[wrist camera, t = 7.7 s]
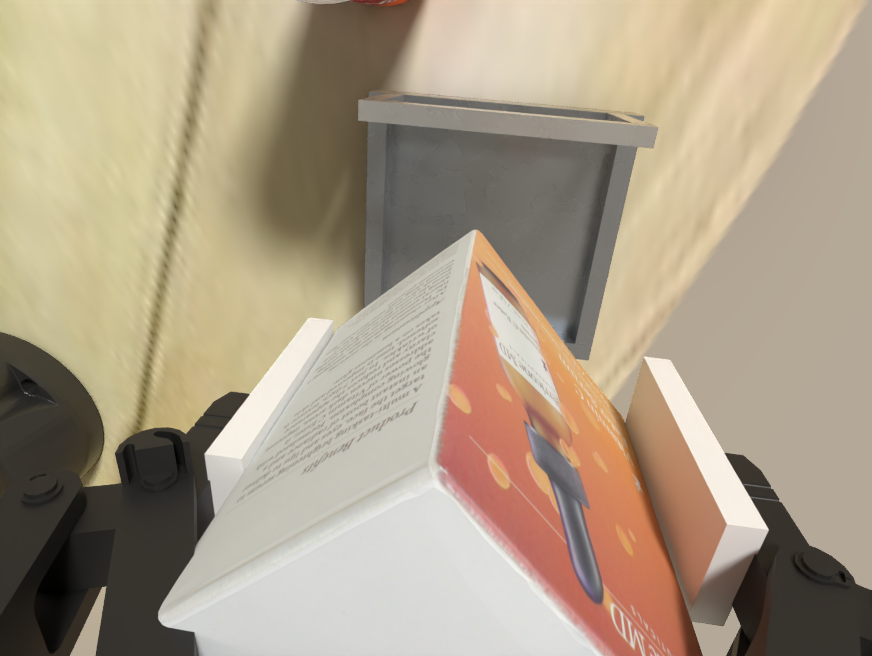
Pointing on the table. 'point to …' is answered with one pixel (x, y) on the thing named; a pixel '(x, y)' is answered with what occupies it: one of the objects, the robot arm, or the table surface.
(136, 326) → the table surface
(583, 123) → the grey storage bin
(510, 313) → the small box
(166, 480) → the robot arm
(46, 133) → the table surface
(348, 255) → the table surface
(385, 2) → the paper cup
